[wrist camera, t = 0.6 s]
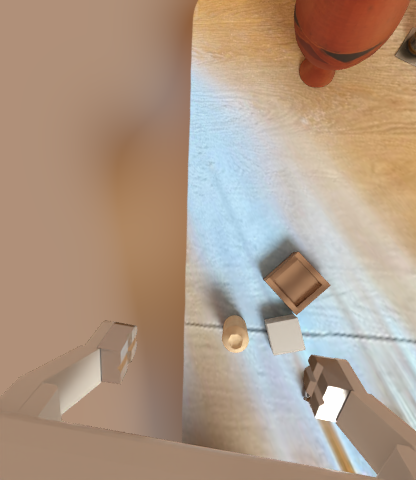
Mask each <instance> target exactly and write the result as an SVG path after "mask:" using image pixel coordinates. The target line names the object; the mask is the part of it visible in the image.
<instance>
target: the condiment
mask: <svg viewBox="0 0 416 480" xmlns="http://www.w3.org/2000/svg"><path fill="white" fill-rule="evenodd" d="M405 48H406V49H405ZM395 56H396V57H398V58H399V59H401V60H404V61H405V62H407V63H410V64H411V65H414V66H416V28H414V27H413V28H412V29H411V31H410V33H409V34H408V36H407V37H406V39H405V41H404V42H403V44H402V45H401V47H400V49H399V50H398V52H397V53H396V55H395Z"/></svg>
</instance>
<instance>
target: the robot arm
mask: <svg viewBox="0 0 416 480" xmlns="http://www.w3.org/2000/svg"><path fill="white" fill-rule="evenodd" d="M136 334H137V326H134V325H128V324H124V323H118V322H111V321H107V320H105V321H104V322H103V323H102V324H101V325H100V326H99V328H98V329H97V330H96V331H95V333H94V334H93V335H92V337H91V338H90V339H89V340H88V342H87V343H86V344H85V346H79V347H77V348H75V349H73V350H71V351H69V352H68V353H65V354H64V355H62V356H60V357H58V358H56V359H54V360H52V361H50V362H48V363H46V364H44V365H42V366H40V367H38V368H36V369H35V370H32V371H30V372H29V373H27V374H25V375H23V376H21V377H19V378H18V379H17V380H16V381H15V382H14V383H13V384H12V385H11V386H10V387H9V388H8V390H7V391H6V392H5V393H4V394H3V395H2V396H1V397H0V480H416V431H415V430H414V429H413V428H411V427H410V426H409V425H408V424H406V423H405V422H404V421H403V420H402V419H400V418H399V417H398V416H397V415H396V414H394V413H393V412H392V411H391V410H390V409H388V408H387V407H386V406H385V405H384V404H382V403H381V402H380V401H379V400H378V399H376V398H375V397H374V396H373V395H371V394H368V393H367V392H366V390H365V389H364V387H363V385H362V384H361V382H360V380H359V379H358V377H357V375H356V374H355V372H354V371H353V369H352V367H351V366H350V364H349V362H348V361H347V360H345V359H338V358H330V357H324V356H317V355H311V356H310V357H309V360H308V362H309V366H308V367H306V368H305V371H304V375H303V382H304V387H305V390H306V392H307V393H308V394H309V395H310V396H311V399H310V404H311V407H312V410H313V413H314V416H315V418H319V419H324V420H329V421H334V422H336V424H337V425H338V427H339V428H340V429H341V430H342V432H343V433H344V434H345V435H346V436H347V438H348V439H349V440H350V441H351V443H352V444H353V445H354V446H355V448H356V449H357V450H358V451H359V453H360V454H361V455H362V456H363V457H364V459H365V460H366V461H367V462H368V464H369V465H370V466H371V467H372V469H373V470H374V471H375V472H376V474H377V476H376V477H370V476H365V475H359V474H354V473H348V472H343V471H337V470H331V469H326V468H320V467H315V466H309V465H303V464H298V463H292V462H287V461H281V460H275V459H270V458H264V457H259V456H253V455H247V454H242V453H236V452H230V451H225V450H219V449H213V448H208V447H202V446H197V445H191V444H186V443H180V442H174V441H169V440H163V439H158V438H152V437H147V436H141V435H135V434H129V433H125V432H119V431H113V430H108V429H102V428H97V427H90V426H85V425H79V424H74V423H69V422H63V421H62V418H61V415H62V414H63V413H64V412H66V411H67V410H68V409H69V408H70V407H72V406H73V405H74V404H75V403H77V402H78V401H79V400H80V399H82V398H83V397H84V396H85V395H87V394H88V393H89V392H90V391H91V390H92V389H94V388H95V387H96V386H97V385H99V384H100V383H101V381H102V382H109V383H116V384H121V382H122V380H123V378H124V376H125V374H126V372H127V365H128V364H129V363H130V362H132V359H133V357H134V354H135V351H136V346H137V340H136V338H135V336H136Z"/></svg>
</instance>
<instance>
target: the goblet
mask: <svg viewBox="0 0 416 480" xmlns="http://www.w3.org/2000/svg"><path fill="white" fill-rule="evenodd" d="M409 2H410V0H296V4H295V11H294V26H295V35H296V40H297V43H298V46H299V48H300V50H301V52H302V53H303V55H304V56H305V57H306V59H305V60H304V61H303V62H302V64H301V66H300V70H299V71H300V77H301V79H302V80H303V82H304V83H305V84H306V85H308V86H310V87H323V86H325V85H327V84H329V83H330V82H331V81H332V79H333V77H334V74H335V70H341V69H346V68H349V67H352V66H354V65H356V64H358V63H360V62H361V61H363V60H365V59H366V58H368V57H370V56H371V55H372V54H374V53H375V52H376V51H377V50H378V49H379V48H380V47H381V46H382V45H383V44H384V43H385V42H386V41H387V40H388V38H389V37H390V36H391V35H392V34H393V32H394V31H395V29H396V28H397V26H398V24H399V23H400V21H401V19H402V17H403V15H404V13H405V11H406V9H407V7H408V5H409Z"/></svg>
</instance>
